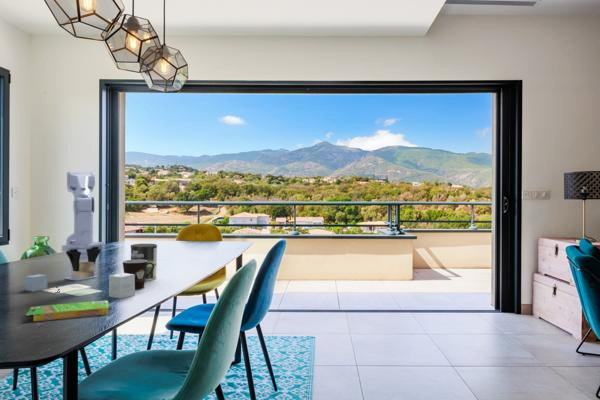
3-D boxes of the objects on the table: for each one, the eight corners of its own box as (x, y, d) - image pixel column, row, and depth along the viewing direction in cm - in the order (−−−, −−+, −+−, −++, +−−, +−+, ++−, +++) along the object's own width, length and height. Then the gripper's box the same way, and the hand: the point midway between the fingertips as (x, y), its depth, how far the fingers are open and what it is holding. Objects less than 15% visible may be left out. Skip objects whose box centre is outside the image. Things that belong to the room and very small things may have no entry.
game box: (107, 318, 122) (24, 322, 114) (107, 310, 131) (30, 313, 122) (108, 307, 122) (25, 311, 114) (108, 300, 131) (31, 303, 122)
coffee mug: (123, 291, 151) (123, 263, 151) (121, 286, 159) (121, 260, 159) (157, 288, 156) (157, 261, 156) (153, 284, 164) (153, 258, 164)
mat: (87, 288, 155) (87, 288, 155) (102, 291, 150) (102, 291, 150) (63, 293, 147) (63, 292, 147) (78, 296, 142) (78, 296, 142)
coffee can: (144, 282, 167) (144, 246, 167) (124, 280, 171) (125, 245, 171) (162, 277, 177) (162, 244, 177) (142, 275, 181) (143, 243, 181)
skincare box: (135, 295, 145) (135, 274, 145) (119, 299, 140) (119, 277, 140) (123, 293, 148) (124, 272, 148) (108, 296, 143) (108, 275, 143)
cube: (39, 287, 155) (39, 274, 155) (47, 289, 153) (47, 275, 153) (25, 290, 151) (24, 276, 151) (33, 291, 148) (32, 277, 148)
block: (85, 274, 152) (85, 260, 152) (93, 276, 149) (94, 262, 149) (71, 276, 148) (72, 262, 148) (80, 278, 145) (80, 264, 145)
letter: (76, 284, 162) (76, 283, 162) (92, 287, 157) (92, 286, 157) (41, 290, 151) (41, 289, 151) (57, 293, 146) (57, 293, 146)
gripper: (70, 233, 140) (70, 274, 140) (109, 230, 153) (109, 268, 153) (58, 232, 144) (58, 272, 144) (97, 229, 156) (97, 266, 156)
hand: (83, 269), depth 148 cm, fingers closed on block, 5 cm apart
